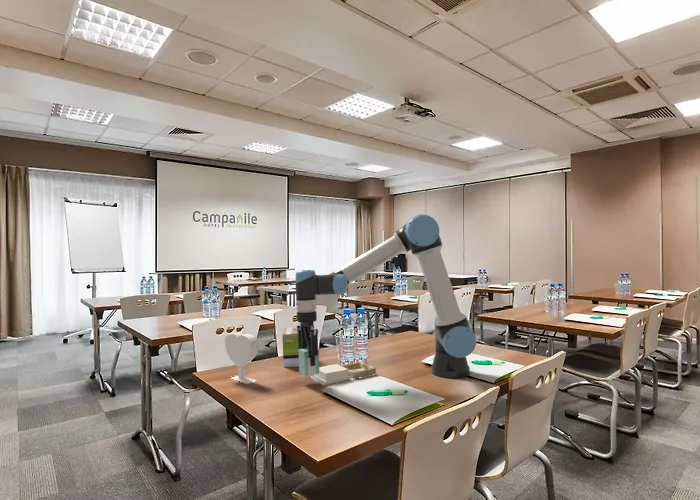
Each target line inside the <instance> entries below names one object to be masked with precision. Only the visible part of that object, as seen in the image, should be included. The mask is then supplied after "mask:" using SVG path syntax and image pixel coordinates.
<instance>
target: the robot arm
mask: <svg viewBox="0 0 700 500" xmlns="http://www.w3.org/2000/svg"><path fill="white" fill-rule="evenodd" d="M443 245H444V244H443V242H442V239H441V236H440V227H439V224H438V222H437V220H436V219H435V218H434V217H433V216H430V215H428V214H422V213H421V214H417V215H415V216H412V217H411V218H410V219H408V221H407V222H406V223H405V224H404V225H403V226H402V227H400V228H399V229H397V230H396V231H394V232H393V235H392V236H391V237H389V238H387V239H386V240H384V241H383V242H381V243H379V244H377V245H376V246H375V247H373V248H371V249H369V250H368V251H366V252H364V253H363V254H361V255H360V256H358V257H356V258H354V259H353V260H351V261H349V262H348V263H347V264H345V265H343V266H341V267H340V268H338V269H337V270H335V271H332V272H330V273H329V274H321V275H320V274H316V271H315V270H313V269H307V270H306V269H305V270H304V269H303V270H298V271H296V272H295V282H294V283H295V300H296V301H295V306H296V311H297V312H296V322H298V323H300V324H299V325H297V326H296V328H297V331H298V349H304V348H308V353H309V356H307V357H308V376H313V375H315V374H316V365H315V356H318V350H319V340H318V339H319V338H318V334H319V330H318V328H316V329H315V325H314V322H316V321H317V320H318V319H317V315H318V314H317V311H316V310H317V296H320V295H321V296H322V295H325V296H326V295H327V296H328V295H345V294H347V292H348V286H349V285H350V284H352V283H353V282H356V281H357V280H358V279H360V278H362V277H363V276H365V275H366V274H369V273H370V272H372V271H373V270H375V269H377V268H378V267H380V266H381V265H383V264H385V263H387V262H388V261H390V260H392V259H394V258H395V257H397V256H398V255H400V254H403V253H405V254H406V253H408V252H409V251H410V252H411V254H412V256H414V257H416V258H417V259H418V262H419V266H420V268H421V272H422V274H423V277H424V280H425V281H424V282H425V283H426V287H427V289H428V290H427V291H428V293H429V296H430V298H431V302H432V305H433V308H434V310H435V311H434V312H435V314H436V317H434V341H435V342H434V343H435V344H434V346H435V347H434V348H435V353H434V357H433V360H432V364H431V368H430V369H431V371H430V372H431V373H432V374H433V375H434V376H437V377H440V378H449V379H460V378H466V377H468V376H470V375H469V374H471V369H470V365H469V364H468V360H467V359H468V358H467V357H468V356H471V354H473V352H474V351H475V349H476V345H477V338H476V334H475V333H474V331H473V330H472V329H471V326H470V323H469V319H468V318H467V315H466V313H465V314H464V313H463V312H461V310H460V307H459V303H458V300H457V297H456V295H455V291H454V289H453V285H452V282H451V279H450V277H449V273H448V270H447V267H446V265H445V261H444V259H443V256H442V252H441V250H442V248H443ZM312 374H313V375H312Z"/></svg>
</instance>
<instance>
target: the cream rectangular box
mask: <svg viewBox="0 0 700 500" xmlns="http://www.w3.org/2000/svg"><path fill="white" fill-rule="evenodd" d="M319 372H320V373H317V374H313V375H310V379H311V380H312V381H314V382H316V383H318V384H320V385H321V386H327V385H331V384H336V383H340V381H341V382H345V381H344V380H346V381H349V380H348V379H350V380H351V378H350V377H349V376H348V369H347V368H344V367H342V365H340V364H337V363H335V364H330V365H329V364H328V365H325V366H319Z"/></svg>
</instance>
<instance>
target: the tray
mask: <svg viewBox="0 0 700 500" xmlns="http://www.w3.org/2000/svg"><path fill="white" fill-rule="evenodd" d="M341 366H342V367H344V368H347V369H348V376H349V377H350V379H352V378H353V379H352V380H355V379H354V378H359V377H363V378H366V377H365V376H368V377H370V376H369V375H373V374H374V375H373V376H376V375H377V368H376V367H374V366H371V365H369V364H366V363H364V362H361V361H359V362H352V363H349V364H343V365H341ZM359 379H360V378H359Z"/></svg>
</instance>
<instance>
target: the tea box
mask: <svg viewBox="0 0 700 500" xmlns="http://www.w3.org/2000/svg"><path fill="white" fill-rule="evenodd" d="M282 363H283V367H284V368H291V367H292V368H293V367H295V368H296V367H299V352H298V331H297V327H285V328H284V330H283V332H282Z"/></svg>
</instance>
